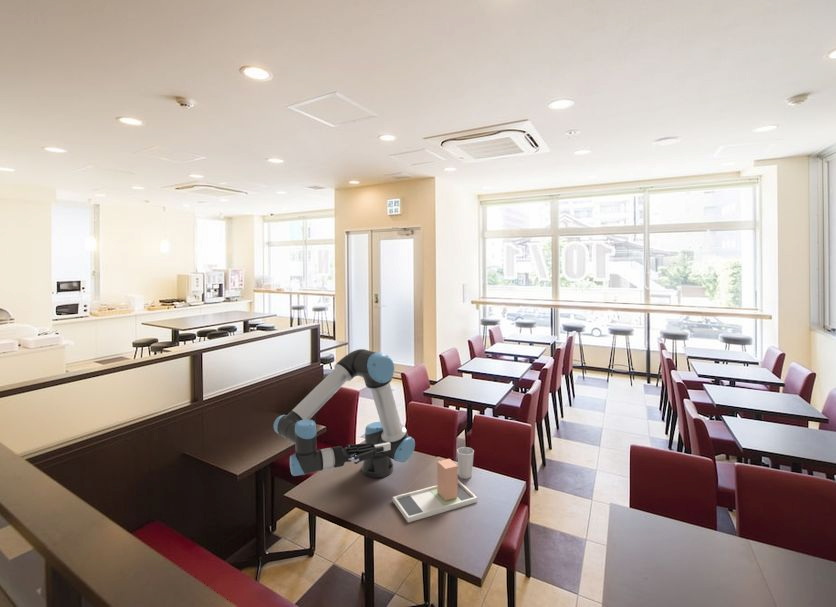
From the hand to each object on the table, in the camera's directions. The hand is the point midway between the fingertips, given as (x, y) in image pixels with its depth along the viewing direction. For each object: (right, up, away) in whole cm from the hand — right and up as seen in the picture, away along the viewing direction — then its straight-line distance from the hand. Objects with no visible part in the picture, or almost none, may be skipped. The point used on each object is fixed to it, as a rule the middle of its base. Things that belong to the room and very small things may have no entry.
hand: (389, 445), depth 165 cm
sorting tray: (+19, -26, +6) cm, 32 cm away
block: (+24, -24, +8) cm, 35 cm away
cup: (+34, -24, +28) cm, 50 cm away
